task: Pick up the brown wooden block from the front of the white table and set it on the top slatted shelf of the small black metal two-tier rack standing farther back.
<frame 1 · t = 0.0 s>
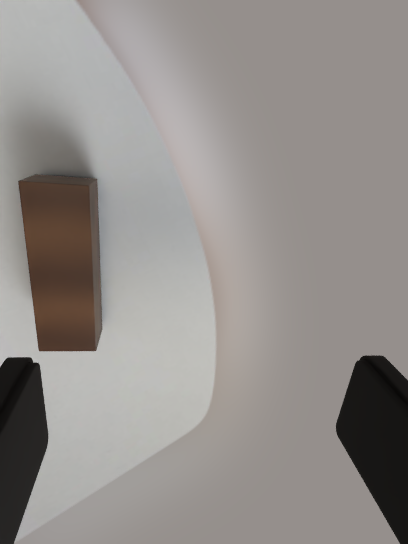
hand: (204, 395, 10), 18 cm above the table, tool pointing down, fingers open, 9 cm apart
brown wooden block: (75, 255, 26), on the table
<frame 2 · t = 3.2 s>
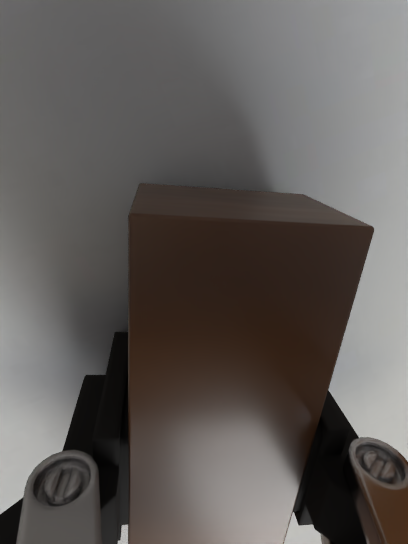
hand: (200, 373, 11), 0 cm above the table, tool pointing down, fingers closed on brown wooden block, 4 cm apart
brown wooden block: (199, 367, 11), on the table, touching gripper
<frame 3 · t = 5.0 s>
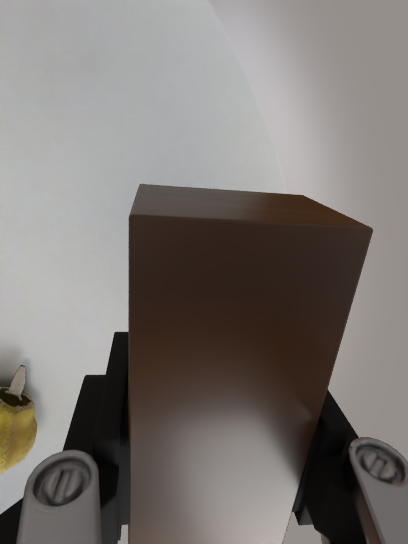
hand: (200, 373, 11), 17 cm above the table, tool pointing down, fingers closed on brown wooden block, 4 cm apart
fruit: (12, 398, 31), on the table
brown wooden block: (199, 367, 11), point 17 cm above the table, touching gripper
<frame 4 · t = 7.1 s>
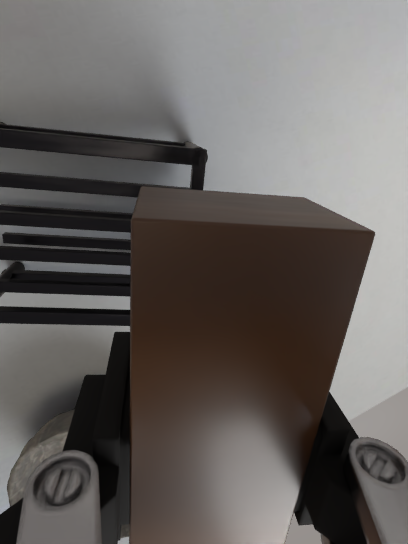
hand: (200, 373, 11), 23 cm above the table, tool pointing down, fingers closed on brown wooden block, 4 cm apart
bowl: (112, 429, 41), on the table
rack: (99, 210, 31), on the table
brown wooden block: (200, 368, 11), point 22 cm above the table, touching gripper
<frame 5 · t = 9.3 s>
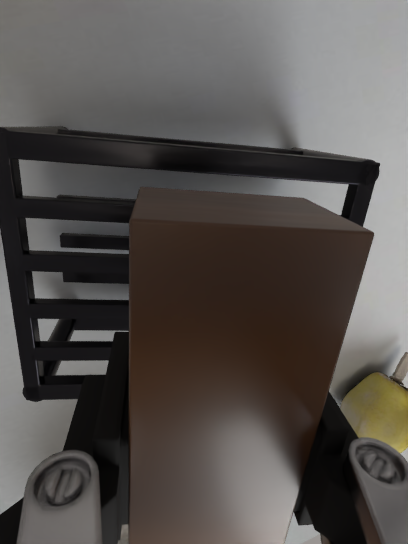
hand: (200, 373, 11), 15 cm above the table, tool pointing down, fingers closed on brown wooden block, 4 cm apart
rack: (178, 235, 24), on the table
fruit: (366, 383, 33), on the table
brown wooden block: (199, 369, 11), point 14 cm above the table, touching gripper
when the fingers open (9 cm above the table, at t = 10.9 s): brown wooden block stays where it is, resting on rack.
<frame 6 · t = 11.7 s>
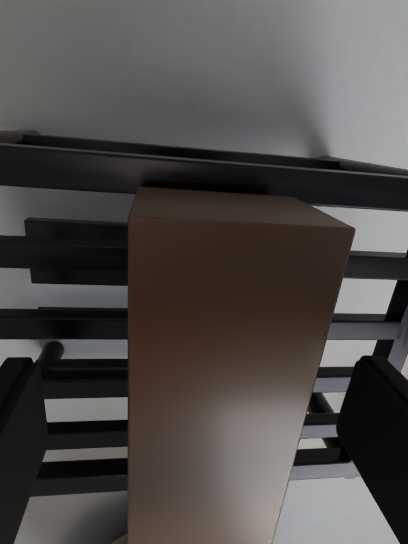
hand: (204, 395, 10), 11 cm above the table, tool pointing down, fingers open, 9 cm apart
rack: (180, 263, 20), on the table
brown wooden block: (196, 362, 12), point 9 cm above the table, touching rack
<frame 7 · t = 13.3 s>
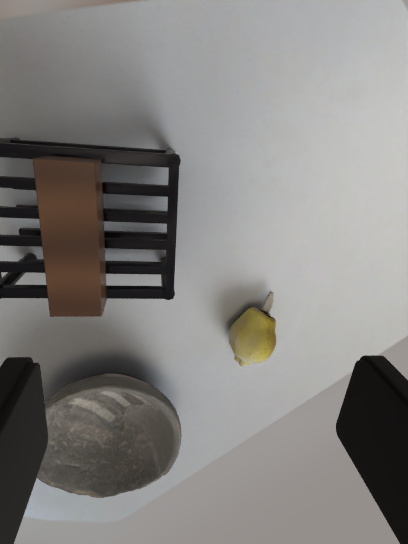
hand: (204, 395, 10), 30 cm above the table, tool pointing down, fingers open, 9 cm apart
bowl: (114, 400, 47), on the table
rack: (97, 207, 37), on the table
fruit: (250, 318, 45), on the table
brown wooden block: (81, 231, 29), point 9 cm above the table, touching rack
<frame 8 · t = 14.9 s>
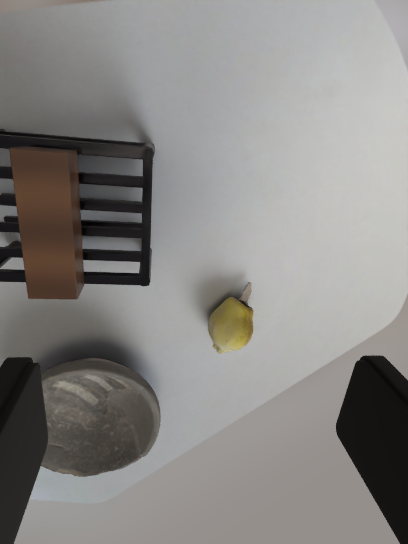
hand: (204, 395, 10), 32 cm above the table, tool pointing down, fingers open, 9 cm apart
bowl: (98, 385, 49), on the table
rack: (81, 198, 38), on the table
fruit: (230, 308, 47), on the table
brown wooden block: (60, 218, 30), point 9 cm above the table, touching rack
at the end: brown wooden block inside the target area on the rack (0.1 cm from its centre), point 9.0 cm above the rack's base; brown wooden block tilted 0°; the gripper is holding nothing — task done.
